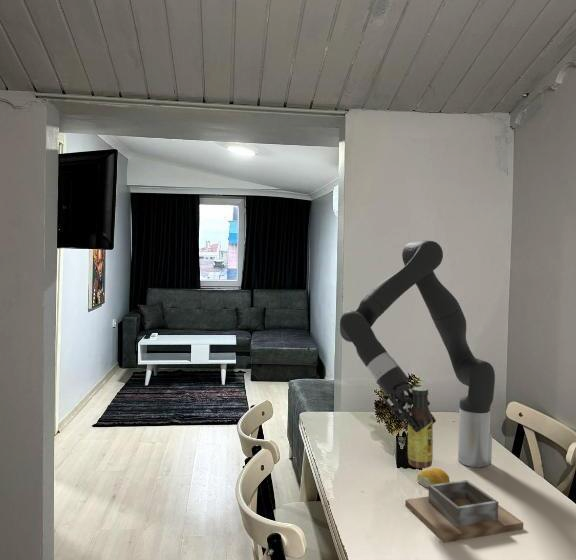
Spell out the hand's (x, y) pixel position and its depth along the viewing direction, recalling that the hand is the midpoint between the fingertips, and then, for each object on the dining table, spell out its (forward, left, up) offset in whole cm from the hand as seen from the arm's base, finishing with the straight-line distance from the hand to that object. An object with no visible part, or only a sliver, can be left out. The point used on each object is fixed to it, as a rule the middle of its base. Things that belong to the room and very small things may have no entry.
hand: (426, 426), depth 131 cm
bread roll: (-12, -14, -23) cm, 29 cm away
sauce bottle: (+1, -2, -11) cm, 11 cm away
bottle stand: (-8, +4, -23) cm, 24 cm away
